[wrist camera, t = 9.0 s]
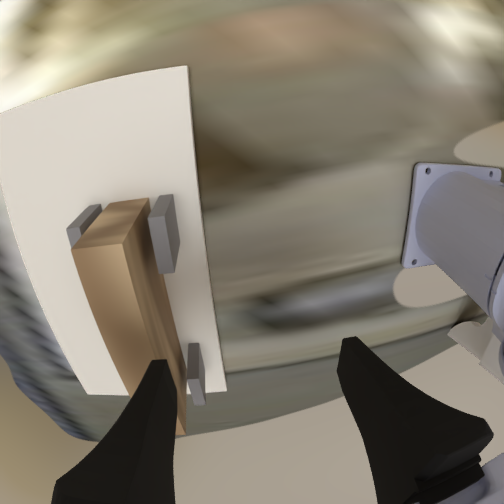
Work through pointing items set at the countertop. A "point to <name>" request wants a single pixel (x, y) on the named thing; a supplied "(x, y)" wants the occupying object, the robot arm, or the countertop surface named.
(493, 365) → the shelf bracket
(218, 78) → the countertop surface
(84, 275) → the door panel
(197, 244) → the board
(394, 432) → the robot arm
